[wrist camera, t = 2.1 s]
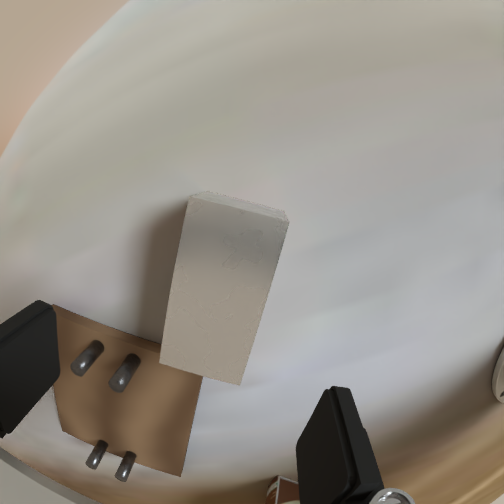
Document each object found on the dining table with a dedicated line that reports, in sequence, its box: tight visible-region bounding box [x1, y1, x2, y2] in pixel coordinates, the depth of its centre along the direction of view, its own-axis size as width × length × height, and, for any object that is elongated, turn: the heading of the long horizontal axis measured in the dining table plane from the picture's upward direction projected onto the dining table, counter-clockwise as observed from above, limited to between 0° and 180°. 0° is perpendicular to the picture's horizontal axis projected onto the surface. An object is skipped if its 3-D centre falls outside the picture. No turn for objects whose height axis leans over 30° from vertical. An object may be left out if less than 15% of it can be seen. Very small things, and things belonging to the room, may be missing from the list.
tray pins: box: [70, 340, 141, 482], centre depth 21 cm, size 4×14×4 cm, turn 166°
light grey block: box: [159, 191, 289, 385], centre depth 19 cm, size 5×10×5 cm, turn 165°
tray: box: [52, 304, 203, 477], centre depth 24 cm, size 14×16×1 cm
